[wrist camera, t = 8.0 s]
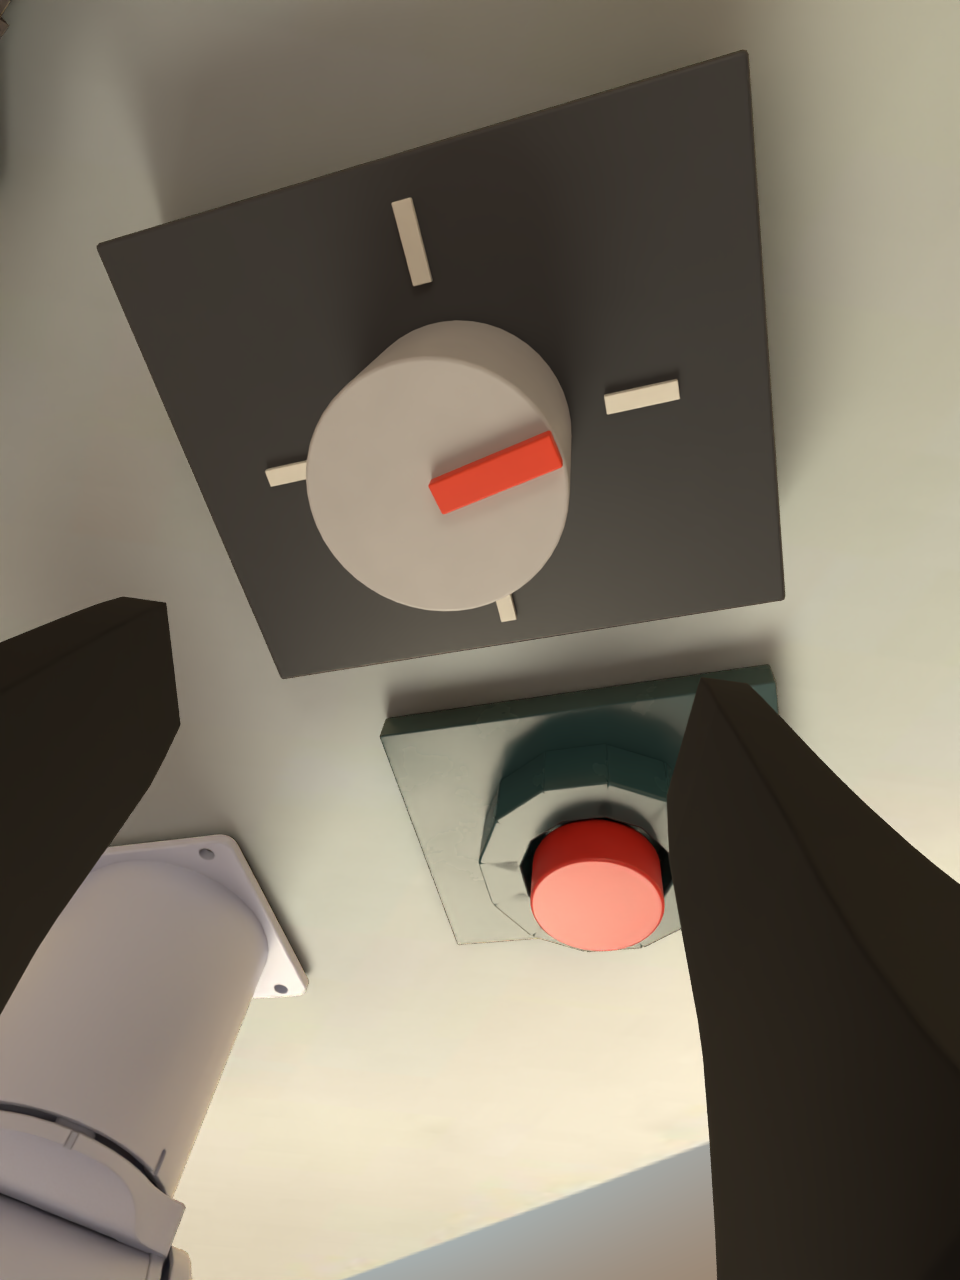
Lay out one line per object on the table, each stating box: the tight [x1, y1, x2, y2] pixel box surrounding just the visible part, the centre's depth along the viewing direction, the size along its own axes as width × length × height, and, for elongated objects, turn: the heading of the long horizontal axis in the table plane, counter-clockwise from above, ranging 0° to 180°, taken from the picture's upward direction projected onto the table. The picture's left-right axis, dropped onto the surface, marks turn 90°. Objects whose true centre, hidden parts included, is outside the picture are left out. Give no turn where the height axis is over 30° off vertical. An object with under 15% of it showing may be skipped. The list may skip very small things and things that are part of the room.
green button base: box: [380, 665, 779, 952], centre depth 24 cm, size 11×9×3 cm
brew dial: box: [306, 320, 572, 611], centre depth 15 cm, size 4×4×4 cm
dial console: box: [97, 50, 785, 679], centre depth 17 cm, size 12×10×3 cm
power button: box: [530, 819, 665, 951], centre depth 22 cm, size 4×4×2 cm
